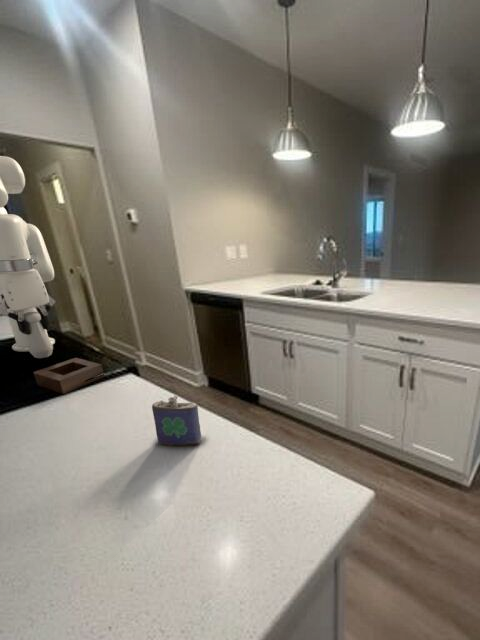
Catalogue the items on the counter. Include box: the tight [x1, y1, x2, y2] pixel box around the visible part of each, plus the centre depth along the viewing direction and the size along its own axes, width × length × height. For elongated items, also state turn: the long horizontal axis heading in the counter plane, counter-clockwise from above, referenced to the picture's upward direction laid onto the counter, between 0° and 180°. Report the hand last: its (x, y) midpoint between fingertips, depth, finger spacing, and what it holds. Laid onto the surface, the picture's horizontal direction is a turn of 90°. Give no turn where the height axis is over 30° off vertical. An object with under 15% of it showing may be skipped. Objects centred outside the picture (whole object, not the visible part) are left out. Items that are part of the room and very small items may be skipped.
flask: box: [151, 395, 203, 447], centre depth 70 cm, size 9×3×11 cm, turn 87°
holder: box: [33, 357, 105, 395], centre depth 98 cm, size 12×12×4 cm
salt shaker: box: [23, 312, 54, 359], centre depth 99 cm, size 6×6×13 cm
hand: (35, 330), depth 98 cm, fingers closed on salt shaker, 4 cm apart
